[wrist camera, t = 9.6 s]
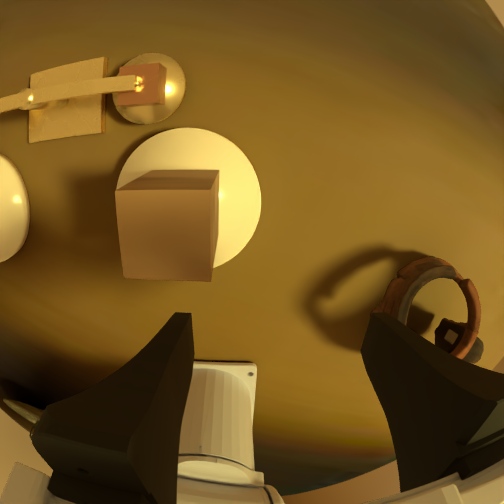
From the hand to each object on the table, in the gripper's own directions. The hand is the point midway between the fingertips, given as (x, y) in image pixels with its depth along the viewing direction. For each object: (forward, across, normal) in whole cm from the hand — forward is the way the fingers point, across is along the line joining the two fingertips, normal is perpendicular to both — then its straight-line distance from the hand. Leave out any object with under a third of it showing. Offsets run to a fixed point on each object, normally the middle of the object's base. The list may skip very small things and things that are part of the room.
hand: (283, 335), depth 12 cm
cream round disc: (+9, +22, -3) cm, 24 cm away
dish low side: (+9, +5, -3) cm, 11 cm away
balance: (+9, +13, -10) cm, 19 cm away
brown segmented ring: (+10, -13, +5) cm, 17 cm away
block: (+8, +5, -3) cm, 10 cm away
